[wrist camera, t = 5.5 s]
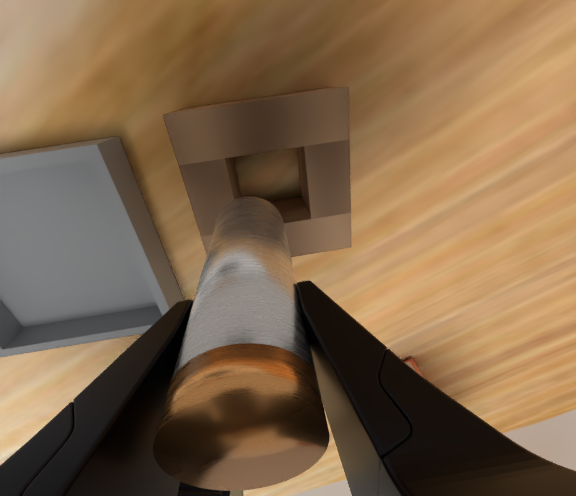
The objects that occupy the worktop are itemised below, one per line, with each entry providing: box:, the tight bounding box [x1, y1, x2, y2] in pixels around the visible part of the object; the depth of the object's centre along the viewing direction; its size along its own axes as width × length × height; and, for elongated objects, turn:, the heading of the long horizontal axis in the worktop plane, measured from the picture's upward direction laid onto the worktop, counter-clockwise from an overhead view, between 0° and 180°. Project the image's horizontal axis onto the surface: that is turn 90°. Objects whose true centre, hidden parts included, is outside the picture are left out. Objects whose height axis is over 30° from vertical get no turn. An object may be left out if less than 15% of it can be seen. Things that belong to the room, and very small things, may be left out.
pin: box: [153, 196, 329, 491], centre depth 9 cm, size 3×3×9 cm
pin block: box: [163, 87, 351, 257], centre depth 18 cm, size 9×9×4 cm
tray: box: [0, 136, 184, 357], centre depth 19 cm, size 13×13×3 cm
